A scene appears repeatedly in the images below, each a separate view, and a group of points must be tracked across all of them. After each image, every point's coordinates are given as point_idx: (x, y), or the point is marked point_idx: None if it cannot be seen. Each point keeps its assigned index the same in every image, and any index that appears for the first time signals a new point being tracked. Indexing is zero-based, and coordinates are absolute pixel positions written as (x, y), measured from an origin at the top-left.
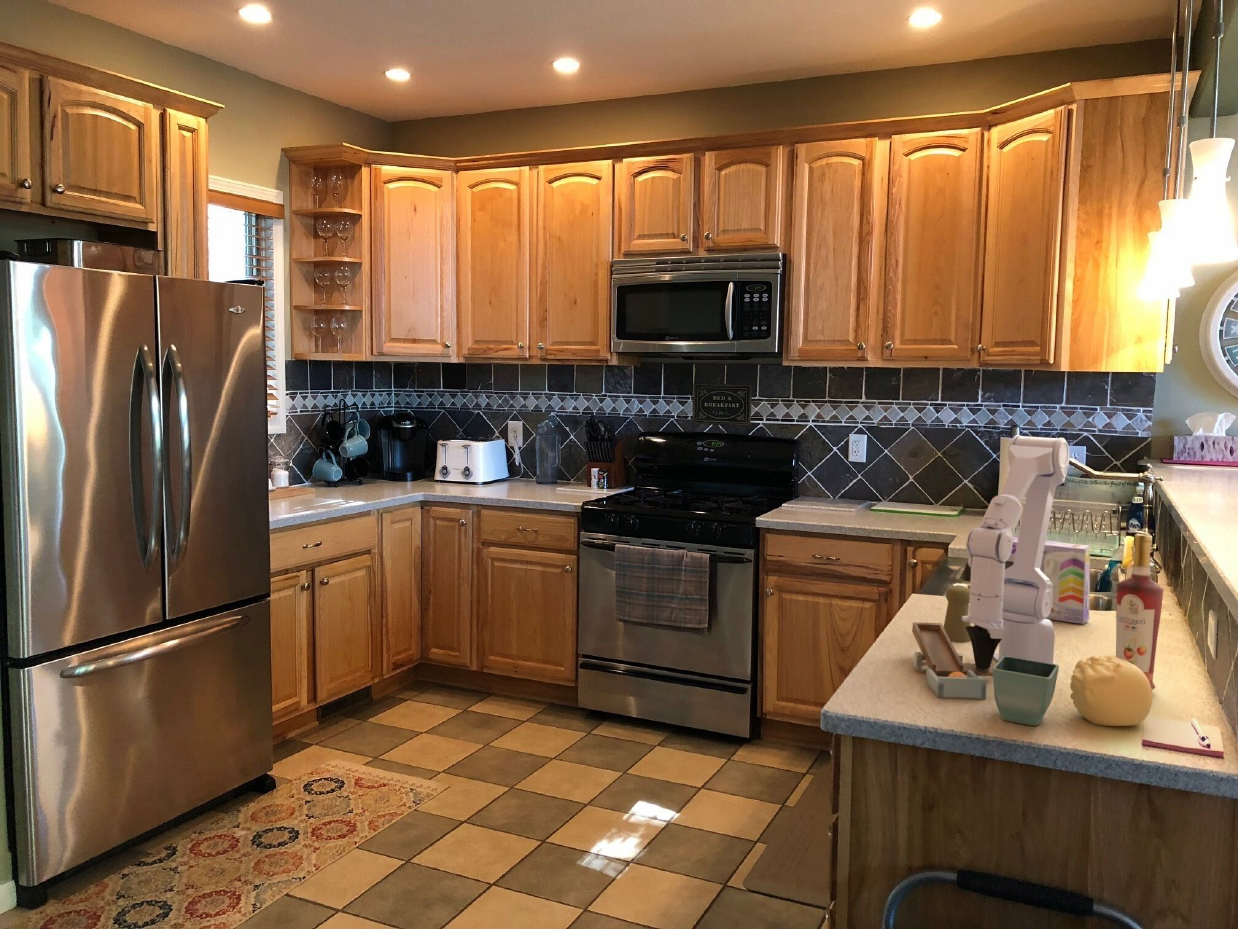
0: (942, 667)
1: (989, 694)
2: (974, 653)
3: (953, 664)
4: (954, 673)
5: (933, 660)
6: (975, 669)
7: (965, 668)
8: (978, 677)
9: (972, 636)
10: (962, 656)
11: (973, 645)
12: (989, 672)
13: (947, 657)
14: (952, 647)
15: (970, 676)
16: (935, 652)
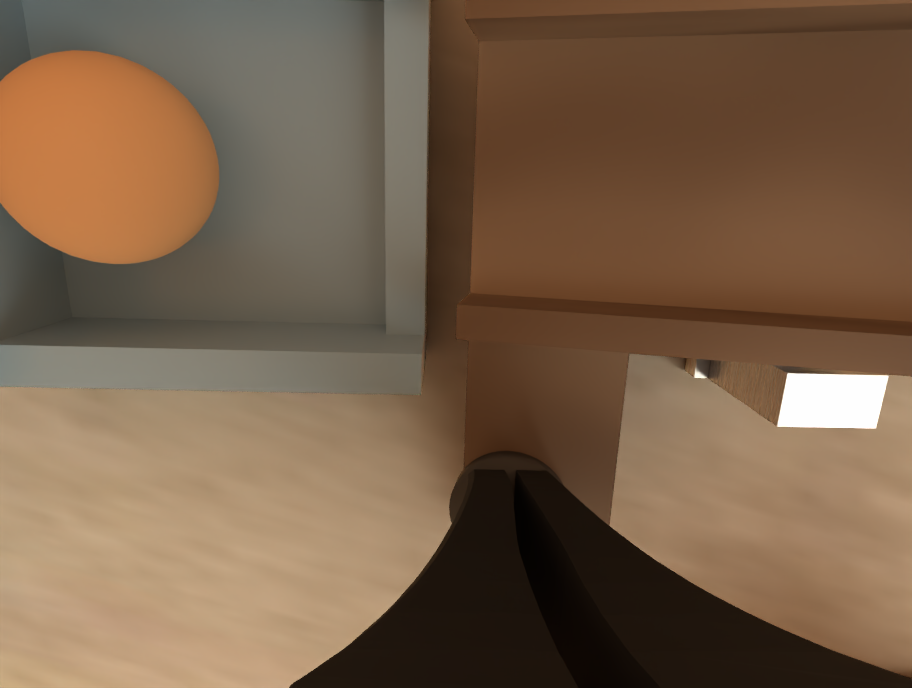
0: (545, 138)
1: (185, 413)
2: (550, 519)
3: (603, 274)
4: (21, 107)
5: (571, 3)
6: (509, 447)
7: (525, 366)
8: (188, 387)
9: (479, 663)
10: (777, 423)
11: (577, 571)
12: None
13: (761, 256)
14: (902, 354)
15: (309, 343)
16: (909, 144)
